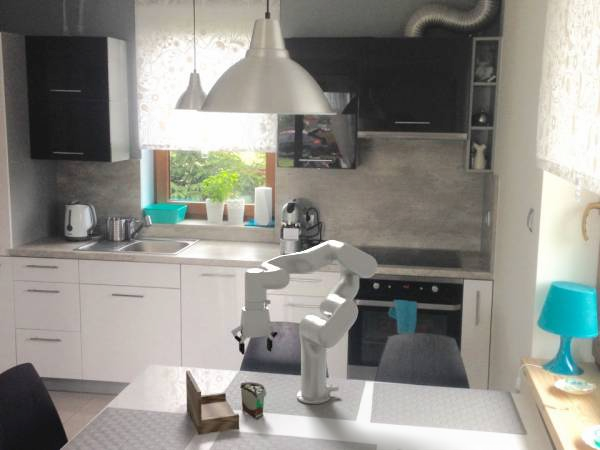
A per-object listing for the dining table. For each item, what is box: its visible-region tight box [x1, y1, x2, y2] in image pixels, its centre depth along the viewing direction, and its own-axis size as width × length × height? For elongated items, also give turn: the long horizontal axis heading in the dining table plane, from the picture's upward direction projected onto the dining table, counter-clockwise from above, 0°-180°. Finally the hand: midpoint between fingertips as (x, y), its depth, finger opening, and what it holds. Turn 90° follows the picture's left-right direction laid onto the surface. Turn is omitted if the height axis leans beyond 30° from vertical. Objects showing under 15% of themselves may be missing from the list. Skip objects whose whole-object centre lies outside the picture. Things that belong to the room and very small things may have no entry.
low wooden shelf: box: [185, 370, 240, 436], centre depth 247 cm, size 14×20×15 cm
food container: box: [239, 381, 267, 421], centre depth 253 cm, size 12×6×10 cm, turn 34°
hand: (255, 351), depth 250 cm, fingers open, 9 cm apart
